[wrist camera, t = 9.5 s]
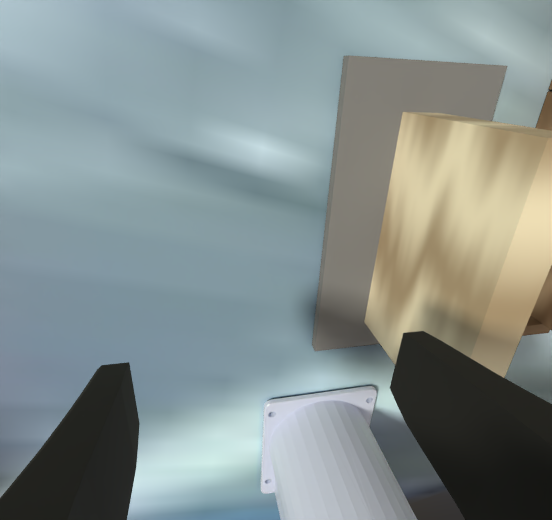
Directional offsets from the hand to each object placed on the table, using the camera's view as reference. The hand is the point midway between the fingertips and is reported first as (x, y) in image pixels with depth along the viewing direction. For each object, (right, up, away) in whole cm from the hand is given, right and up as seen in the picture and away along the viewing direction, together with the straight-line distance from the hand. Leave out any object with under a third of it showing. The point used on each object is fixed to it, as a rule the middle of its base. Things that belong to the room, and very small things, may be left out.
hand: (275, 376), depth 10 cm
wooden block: (+7, +5, +11) cm, 13 cm away
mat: (+7, +5, +11) cm, 14 cm away
